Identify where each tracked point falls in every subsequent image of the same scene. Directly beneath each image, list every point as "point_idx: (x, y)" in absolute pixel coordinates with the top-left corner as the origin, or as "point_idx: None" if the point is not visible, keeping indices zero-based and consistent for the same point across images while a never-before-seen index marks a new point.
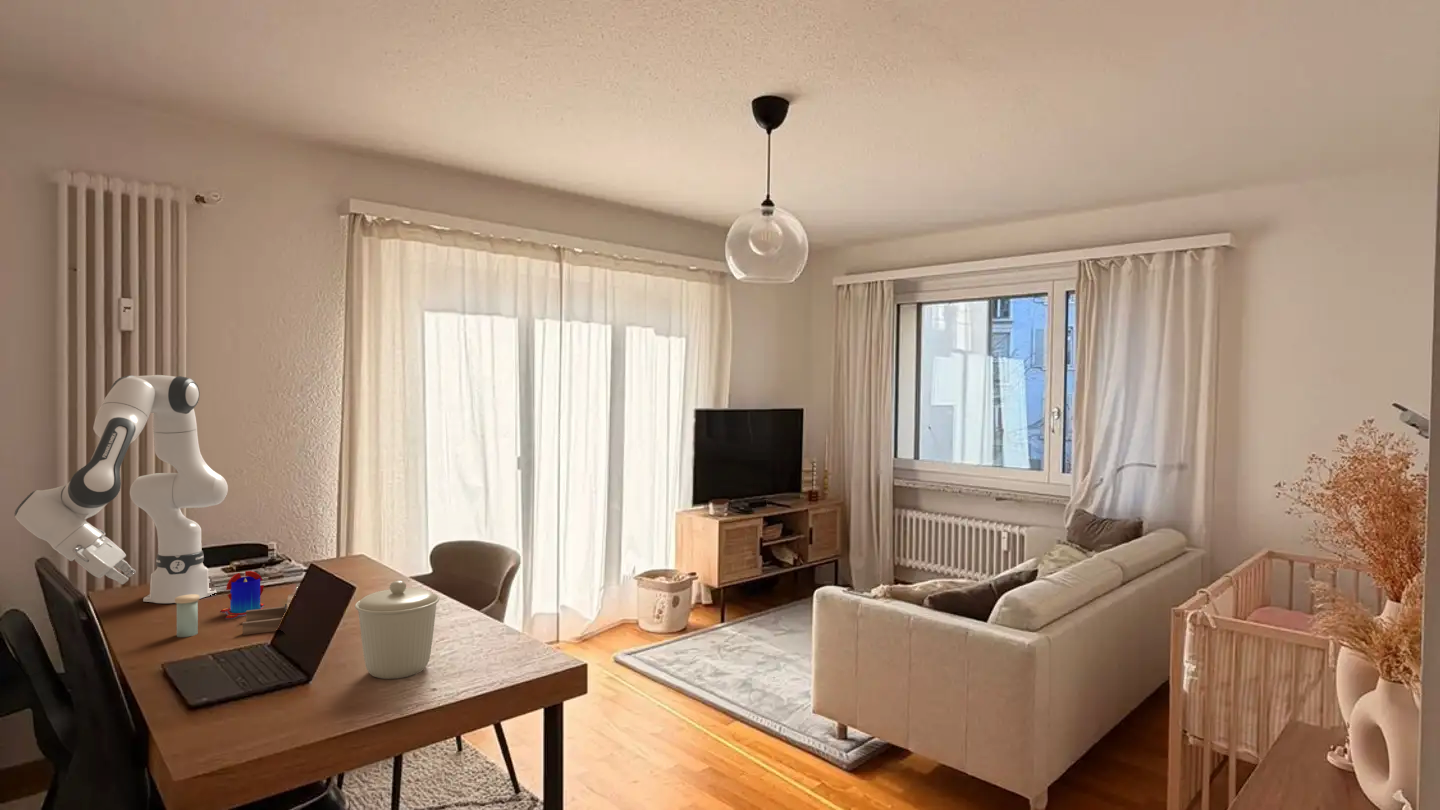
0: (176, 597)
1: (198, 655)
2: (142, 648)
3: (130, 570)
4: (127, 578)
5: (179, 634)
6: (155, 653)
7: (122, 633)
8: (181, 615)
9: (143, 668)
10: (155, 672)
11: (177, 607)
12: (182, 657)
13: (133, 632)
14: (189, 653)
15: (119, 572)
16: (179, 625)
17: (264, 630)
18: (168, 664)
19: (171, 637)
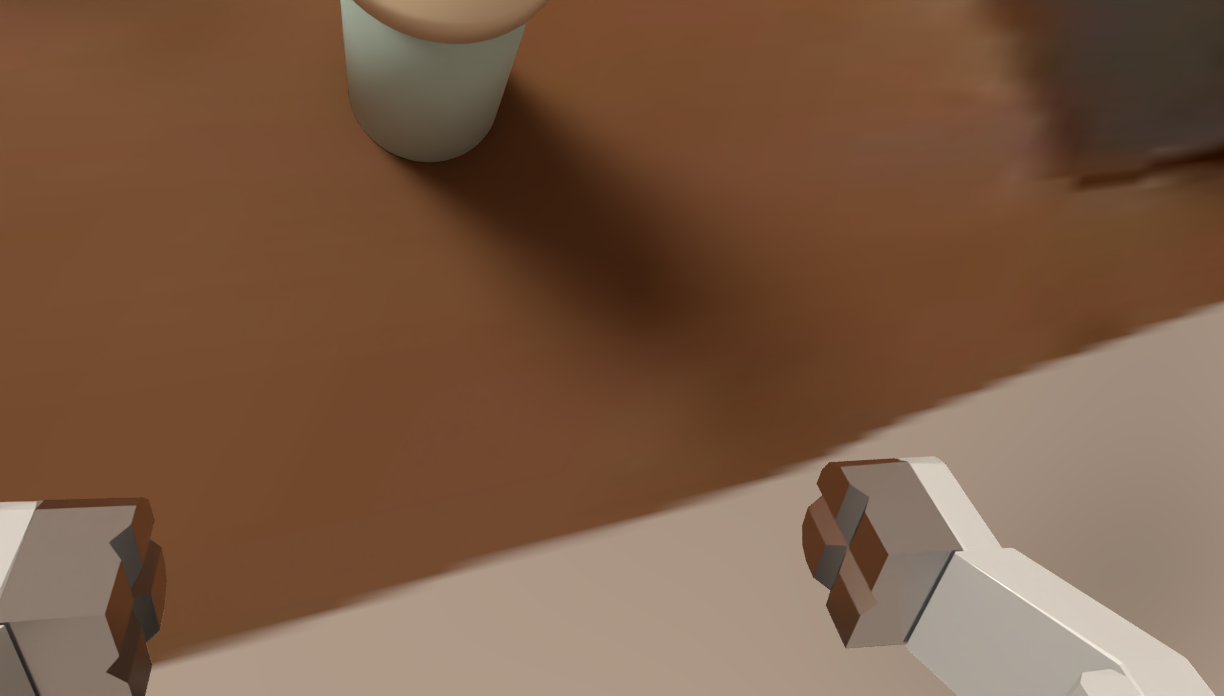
0: (420, 4)
1: (987, 6)
2: (689, 356)
3: (119, 592)
4: (934, 462)
5: (485, 131)
6: (848, 252)
7: None
8: (517, 44)
9: (1124, 276)
10: (1210, 203)
11: (493, 42)
12: (994, 89)
13: None
14: (927, 55)
15: (1051, 609)
16: (493, 101)
17: None
18: (1098, 153)
19: (460, 196)
